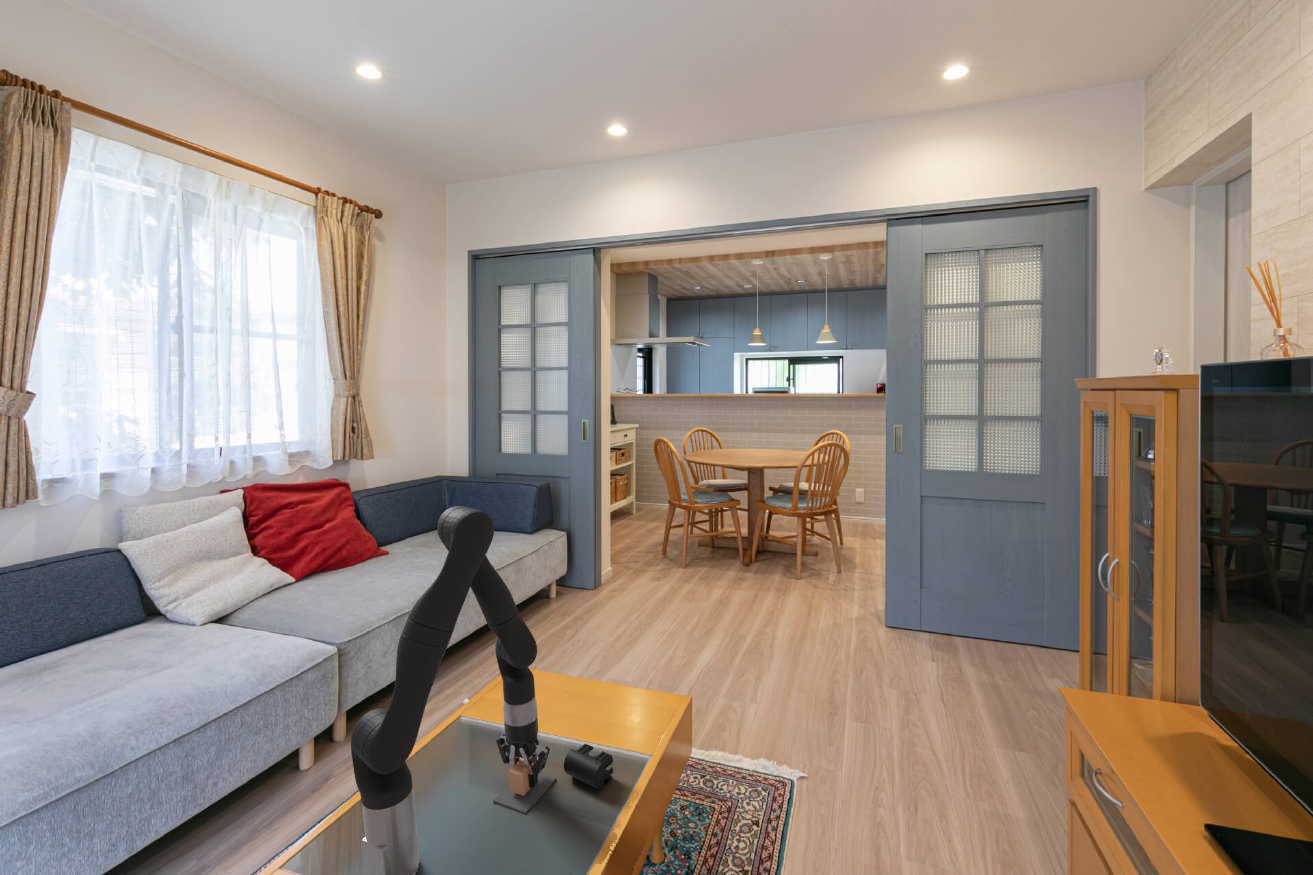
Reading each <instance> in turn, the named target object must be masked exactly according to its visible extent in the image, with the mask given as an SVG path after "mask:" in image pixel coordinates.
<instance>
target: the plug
mask: <svg viewBox="0 0 1313 875" xmlns="http://www.w3.org/2000/svg"><path fill="white" fill-rule="evenodd" d="M537 760H538V758H537ZM532 766H533V763H532ZM528 773H529V772H528V769H527V766H526V765H525V764H524V761H523V758H521V757H520V760H519V761H518V762H517V763H516V764H515V765H514V766H513V767H512V768H510V769H509V770H508V772H507V774H508V785H509V789H510V791H511V792H514V793H517V794H520V795H523V796H524V795H525V794H526V793H527V792H528V791H529V790H530V789H531V788H530V787H529V779H528Z"/></svg>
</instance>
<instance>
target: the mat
mask: <svg viewBox="0 0 1313 875" xmlns="http://www.w3.org/2000/svg"><path fill="white" fill-rule="evenodd" d="M555 781H557V777H555V776H552V775H548V774H545V773H542V772H540V773H539V774H538V783H537V784H536V785H535V786H534V787H533V788H531V789H530V790H529V791H528V792H527V793H526V794H525V795H524V796H523V795H520V794H517V793H514V792H511V791H510V789H509V784H507V786H506V787H505V788H504V789H502V791H501V792H500V793H499V794H498V795H497V796H496V797H495V798H494V799H492V802H493V803H495V804H498V805H500V806H502V807H505V808H508V809H510V810H513V811H516V812H519V813H522V814H524V815H526V814H527V813H528V812H529V810H531V808H532V807H533V806H534V805H535V804H536V803H537V802H538V801H539V799H540V798H541V797H542V796H543V795H544V794H545V793H546V792H547V791H548V789H549V788H550V787H551V786H552V785H553V784H554V783H555Z"/></svg>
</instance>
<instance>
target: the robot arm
mask: <svg viewBox="0 0 1313 875" xmlns="http://www.w3.org/2000/svg"><path fill="white" fill-rule="evenodd" d="M436 529H437V530H436V532H437V537H438V538H439V539H440V541H441V543H442V544H443V546H444V547H445V548H446V550H447V551H448V553H447V555H446V558H445V560H444V562H443V563H444V564H443V565H442V568H441V570H440V572H439V573H438V575H437V577H436V579H435V580H434V581H433V582H432V583H431V585H430V586H428V588H427V589H426V590H425V591H424V592H423V594H422V595H421V596H420V597H419V598H418V600H417V601H416V602H415V604H414V605H413V607H412V608H411V610H410V612H409V615H408V616H407V619H406V622H405V624H404V626H403V629H402V631H401V633H400V637H399V639H398V640H399V641H398V645H397V650H396V660H395V681H394V688H393V693H392V697H391V700H390V703H389V705H388V708H374V709H372V710H369V711H368V712H366V713H365V714H363V715H362V717H360V718H359V719H358V721H357V722H356V724H355V726H354V728H353V731H352V733H351V737H350V738H351V739H350V751H351V760H352V767H353V773H354V780H355V783H356V784H355V785H356V787H357V789H358V792H359V794H360V801H361V808H362V820H363V828H364V829H363V830H364V836H363V838H361V840H360V847H361V856H362V858H361V859H362V867H363V875H413V874H414V873H415V872H417V873H418V871H419V869H418V868H420V865H419V863H420V853H419V843H418V832H417V830H418V829H417V821H416V820H417V817H416V807H415V798H414V796H415V795H414V786H413V776H412V772H411V769H410V768H409V766H408V764H407V760H408V759H409V757H410V755H411V754H412V752H413V750H414V747H415V745H416V741H417V738H418V735H419V730H420V728H421V724H422V721H423V717H424V713H425V710H426V707H427V706H426V705H427V702H428V699H429V696H430V693H431V691H432V687H433V685H434V682H435V680H436V677H437V674H438V672H439V668H440V666H441V663H442V661H443V658H444V655H445V653H446V652H447V648H448V646H449V644H450V641H451V638H452V637H453V633H454V630H455V627H456V624H457V622H458V618H459V616H460V613H461V611H462V608H463V607H464V603H465V601H466V599H467V596H468V593H469V591H470V589H471V591H472V593H473V595H474V597H475V599H476V602H477V603H478V606H479V607H480V610H481V612H482V614H483V618H484V619H485V621H486V624H487V626H488V627H489V629H490V630H491V632H492V633H493V634H495V636H496V637H497V638H496V641H495V642H496V643H495V657H496V662H497V666H498V670H499V672H500V676H501V680H502V691H503V692H502V693H503V694H502V695H503V708H502V710H503V711H502V712H503V722H504V723H503V724H504V733H503V734H502V735H500V737H499V738H497V739H496V745H497V749H498V751H499V754H500V757H501V760H502V762H503V764H508V766H509V768H510V769H511V768H512V767H513V766H514V765H515V764H516V763H517V762H518V761H519V760H520V759H521V758H523V761H524V764H525V765H526V766H527V769H528V772H529V773H528V779H529V787H530V788H533V787H534V786H535V785H536V784H537V783H538V774H539V773H541V772H542V771H543V770H544V769H545V767H546V765H547V760H548V757H549V754H550V747H549V746H545V747H543V746H542V745H540V741H539V739H538V733H539V722H538V721H539V719H538V704H537V699H536V688H535V686H536V684H535V678H534V674H533V672H532V671H531V669H530V668H529V667H530V666H532V665H533V664H534V662H535V660H536V659H537V656H538V645H537V641H536V640H535V638H534V635H533V633H532V632H531V630H530V629H529V627H528V625H527V624H526V622H525V621H524V620H523V618H522V617H521V614H520V612H519V609H518V607H517V604H516V601H515V599H514V598H513V595H512V593H511V591H510V589H509V587H508V586H507V584H506V582H505V581H504V579H503V578H502V577H501V575H500V574H499V573H498V572H497V570H496V569H495V567H494V566H493V565H492V563H491V562H490V560H489V559H488V556H487V553H488V551H489V549H490V547H491V545H492V541H493V540H494V539H493V538H494V535H495V523H494V520H493V518H492V517H491V515H490V514H489V513H487V512H485V511H483V510H479V509H476V508H473V507H470V506H469V507H468V506H463V505H455V506H451V507H450V508H447V509H446V510H444V512H443V513H441V515H440V516H439V519H438V521H437V525H436ZM537 758H538V760H537ZM532 763H533V766H532ZM417 870H418V871H417Z"/></svg>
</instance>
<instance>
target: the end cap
mask: <svg viewBox="0 0 1313 875" xmlns="http://www.w3.org/2000/svg"><path fill="white" fill-rule="evenodd" d="M593 750H594V746H592V745H590V744H587V743H584V744H583V745H581V746H580V747H579V748H577V749H576V750H575V749H572V748H571V749H570V750H569V751H568V752H567V754H566V756H565V758H564V761H563V771H564V773H565V774H567V775H568V776H570V777H573V779H574V778H575V779H576V780H578V781H581V782H583V783H584V784H587V785H588V786H591V787H592V788H594V789H596V790H599V791H600V790H603V789H604V788H605V787H606V786H608V784H610V783H611V782H612V781H613V776H612V774H614V767H613V766H611V765H612V764H613V763H614V761H613V760H614V759H613V758H614V757H613V755H612V754H609V752H606V751H602V750H601V752H600V753H598V754H597V755H595V756H594V755H593V756H592V755H590V753H591V752H592V751H593ZM610 766H611V767H610ZM607 768H608V769H607ZM610 781H611V782H610ZM609 782H610V783H609Z"/></svg>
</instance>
